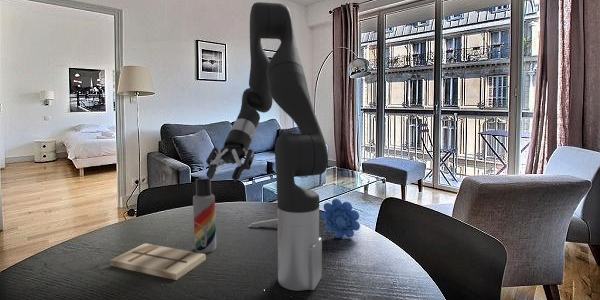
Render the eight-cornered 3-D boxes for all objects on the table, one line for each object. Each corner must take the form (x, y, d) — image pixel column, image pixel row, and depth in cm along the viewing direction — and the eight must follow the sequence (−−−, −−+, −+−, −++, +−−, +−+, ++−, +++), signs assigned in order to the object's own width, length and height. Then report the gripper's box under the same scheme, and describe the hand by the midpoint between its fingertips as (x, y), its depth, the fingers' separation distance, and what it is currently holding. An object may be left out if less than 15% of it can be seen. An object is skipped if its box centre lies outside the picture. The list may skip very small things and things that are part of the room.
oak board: (205, 259, 87) (205, 253, 87) (176, 280, 77) (176, 273, 77) (145, 248, 94) (144, 242, 94) (110, 265, 84) (110, 259, 84)
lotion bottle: (194, 254, 90) (191, 180, 88) (195, 246, 96) (192, 176, 93) (216, 252, 92) (214, 179, 89) (216, 244, 97) (213, 175, 95)
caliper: (310, 227, 111) (310, 208, 110) (310, 228, 110) (310, 209, 109) (248, 227, 112) (248, 208, 111) (247, 228, 110) (247, 209, 110)
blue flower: (319, 242, 98) (320, 202, 97) (321, 233, 105) (321, 196, 103) (360, 244, 97) (361, 203, 95) (359, 235, 103) (360, 197, 102)
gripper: (216, 128, 108) (195, 169, 99) (256, 129, 103) (237, 172, 94) (226, 142, 114) (206, 183, 104) (264, 144, 109) (247, 187, 99)
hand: (221, 178), depth 99 cm, fingers open, 8 cm apart
